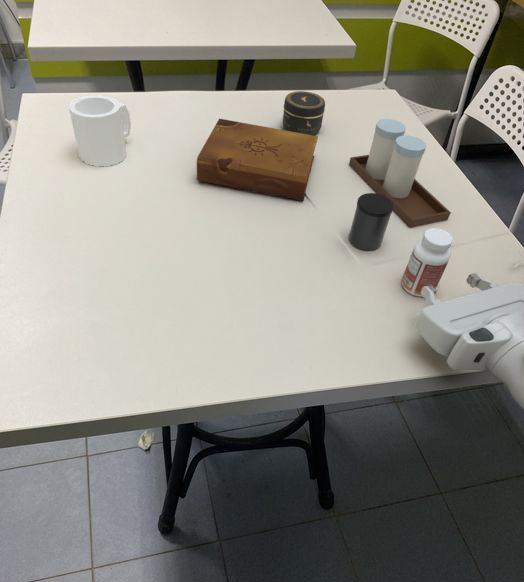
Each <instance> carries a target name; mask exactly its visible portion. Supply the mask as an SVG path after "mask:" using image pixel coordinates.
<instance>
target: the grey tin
mask: <svg viewBox="0 0 524 582" xmlns="http://www.w3.org/2000/svg"><path fill="white" fill-rule="evenodd" d="M393 208H394V205H393V202H392V201H391V200H390V199H389V198H387V197H385V196H383V195H380V194H376V193H375V192H368V193H367V192H366V193H364V194H361V195H360V196H358V198H357V202H356V207H355V211H354V215H353V219H352V223H351V227H350V230H349V234H348V242H349V244H350V245H351V246H352V247H353V248H355V249H357V250H359V251H362V252H374V251H377V250H379V249H380V248H381V246H382V244H383V243H382V242H383V240H384V237H385V233H386V231H387V227H388V224H389V223H390V222H389V221H390V219H391V215H392V213H393V212H394V211H393Z"/></svg>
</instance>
